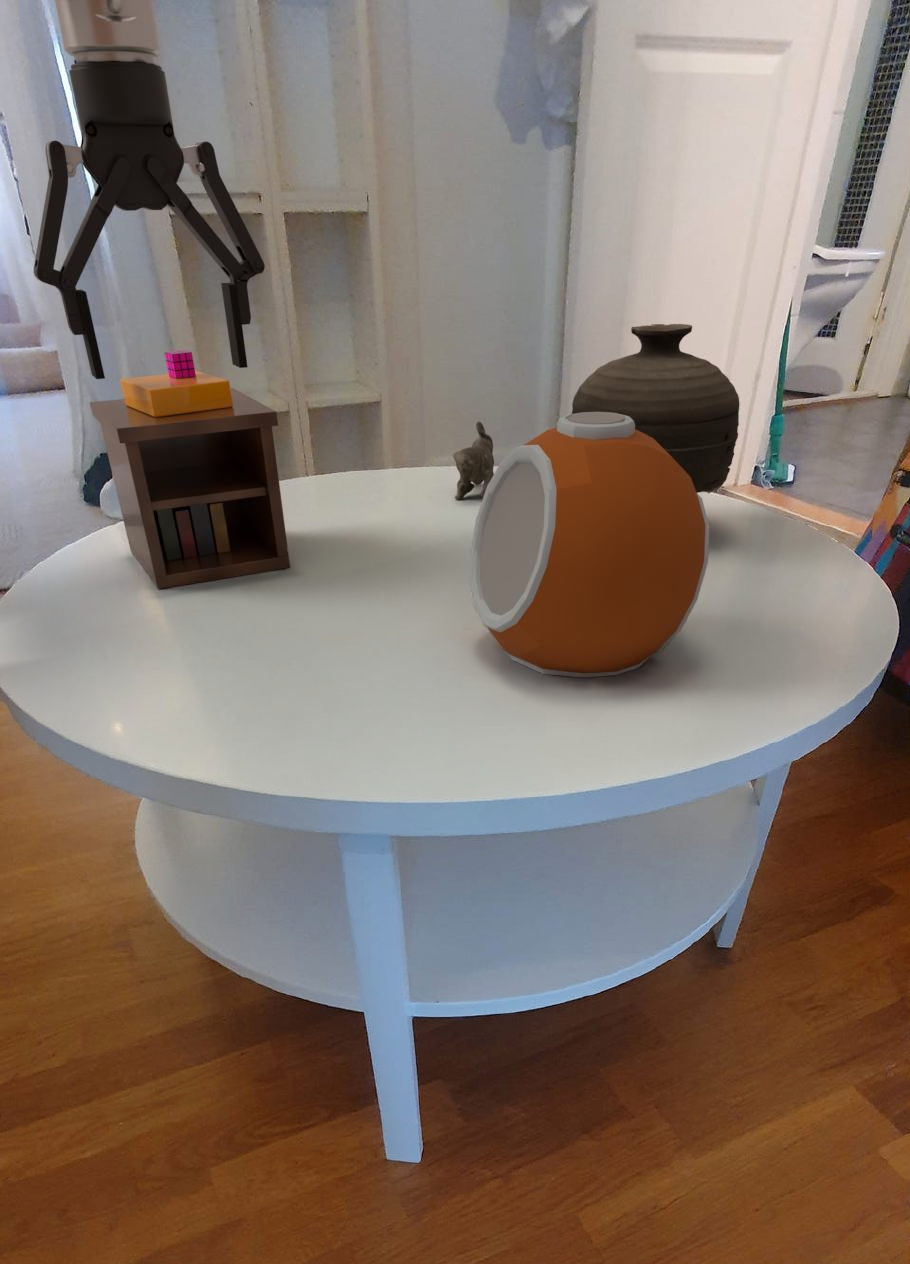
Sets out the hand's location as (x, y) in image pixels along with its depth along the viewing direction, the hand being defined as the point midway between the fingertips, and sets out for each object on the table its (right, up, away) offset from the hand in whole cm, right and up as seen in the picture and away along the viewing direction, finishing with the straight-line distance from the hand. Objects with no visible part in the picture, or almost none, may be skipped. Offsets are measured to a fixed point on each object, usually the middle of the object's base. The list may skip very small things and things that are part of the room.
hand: (171, 372), depth 87 cm
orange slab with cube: (0, -2, +2) cm, 3 cm away
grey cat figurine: (+30, +3, +30) cm, 42 cm away
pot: (+48, -8, +16) cm, 52 cm away
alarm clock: (+38, -30, -9) cm, 49 cm away
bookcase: (+1, -13, +11) cm, 17 cm away
